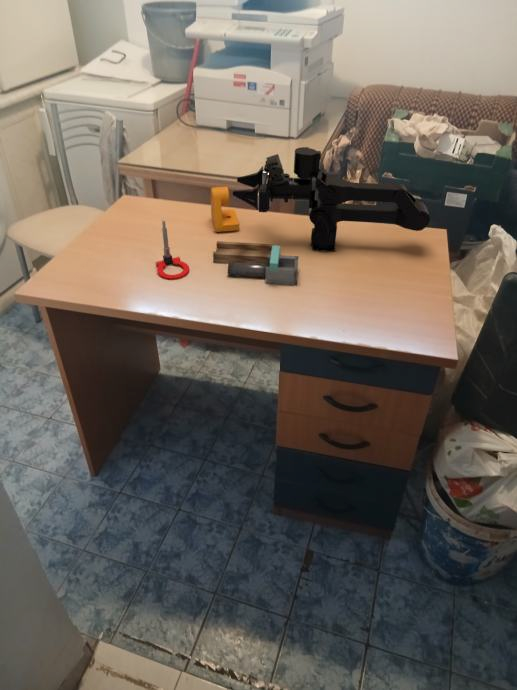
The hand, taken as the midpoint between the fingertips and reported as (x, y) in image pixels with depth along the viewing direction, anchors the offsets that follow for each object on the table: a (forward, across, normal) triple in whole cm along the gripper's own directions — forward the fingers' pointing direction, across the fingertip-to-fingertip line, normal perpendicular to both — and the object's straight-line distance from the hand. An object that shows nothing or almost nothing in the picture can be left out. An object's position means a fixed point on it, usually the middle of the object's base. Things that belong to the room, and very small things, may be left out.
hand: (234, 186), depth 138 cm
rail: (-3, +9, +16) cm, 19 cm away
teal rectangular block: (-12, +18, +12) cm, 25 cm away
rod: (-7, +18, +17) cm, 26 cm away
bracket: (+5, -10, +17) cm, 20 cm away
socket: (-14, +18, +17) cm, 28 cm away
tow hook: (+15, +18, +17) cm, 29 cm away
